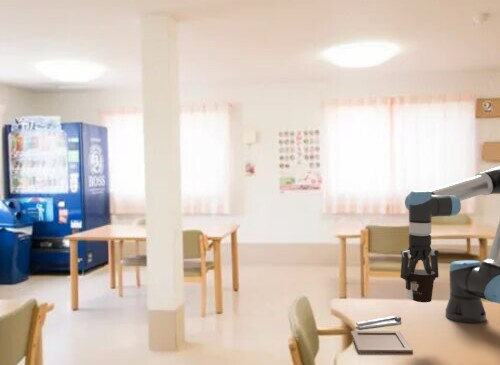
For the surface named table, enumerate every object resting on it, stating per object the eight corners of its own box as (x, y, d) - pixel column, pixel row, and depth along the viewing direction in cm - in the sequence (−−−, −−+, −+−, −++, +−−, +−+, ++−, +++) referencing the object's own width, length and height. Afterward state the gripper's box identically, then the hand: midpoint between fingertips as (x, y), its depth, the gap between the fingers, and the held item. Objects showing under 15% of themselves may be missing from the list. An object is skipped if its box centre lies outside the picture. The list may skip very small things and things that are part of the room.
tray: (399, 334, 179) (399, 330, 178) (412, 353, 161) (412, 350, 161) (350, 333, 180) (350, 330, 180) (358, 353, 162) (358, 349, 162)
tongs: (396, 319, 195) (396, 315, 194) (403, 323, 190) (403, 318, 190) (353, 324, 189) (353, 320, 189) (360, 329, 184) (359, 324, 184)
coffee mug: (439, 302, 166) (439, 274, 166) (415, 303, 165) (414, 275, 165) (424, 293, 178) (424, 267, 177) (402, 294, 177) (402, 267, 177)
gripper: (437, 231, 176) (437, 293, 177) (389, 233, 172) (389, 296, 173) (450, 234, 169) (449, 299, 170) (400, 236, 165) (400, 302, 166)
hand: (419, 297), depth 172 cm, fingers closed on coffee mug, 6 cm apart
